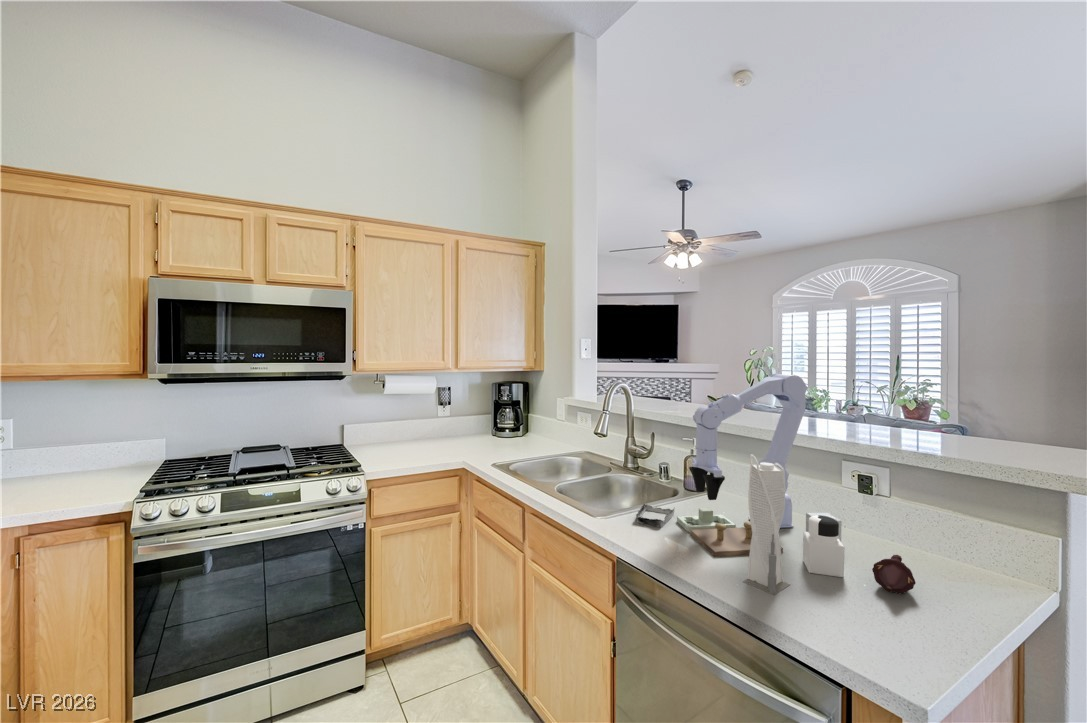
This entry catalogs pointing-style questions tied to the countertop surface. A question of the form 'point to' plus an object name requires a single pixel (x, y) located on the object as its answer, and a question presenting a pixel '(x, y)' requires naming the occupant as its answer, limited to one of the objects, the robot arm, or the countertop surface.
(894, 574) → the dark maroon knobbed disc
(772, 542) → the skyscraper
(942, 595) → the countertop surface
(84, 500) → the countertop surface
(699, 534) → the board
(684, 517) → the panel
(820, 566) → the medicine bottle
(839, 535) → the skincare box
